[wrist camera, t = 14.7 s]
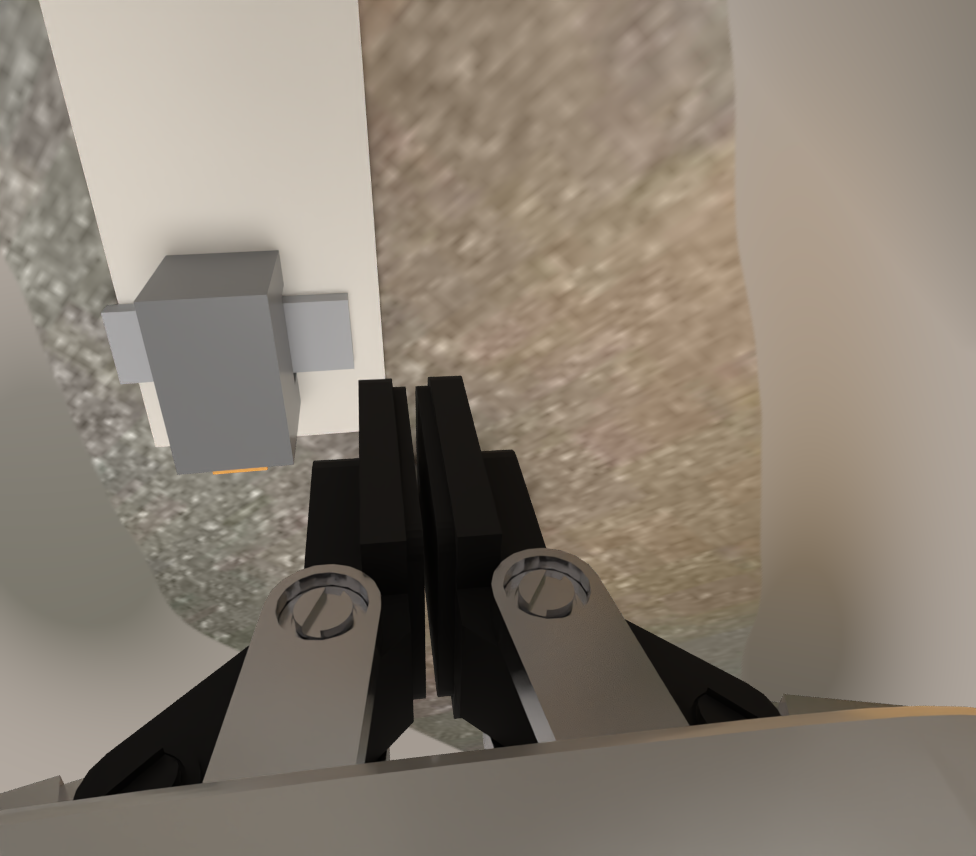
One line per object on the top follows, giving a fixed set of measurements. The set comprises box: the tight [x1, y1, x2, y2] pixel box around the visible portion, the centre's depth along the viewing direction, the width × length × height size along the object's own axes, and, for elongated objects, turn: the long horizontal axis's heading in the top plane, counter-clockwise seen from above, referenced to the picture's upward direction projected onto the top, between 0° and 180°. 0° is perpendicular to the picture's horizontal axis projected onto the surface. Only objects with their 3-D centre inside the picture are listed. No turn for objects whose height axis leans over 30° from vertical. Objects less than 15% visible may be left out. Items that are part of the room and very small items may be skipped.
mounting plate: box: [39, 0, 385, 447], centre depth 33 cm, size 12×22×2 cm, turn 0°
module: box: [133, 250, 301, 475], centre depth 33 cm, size 5×9×6 cm, turn 0°
